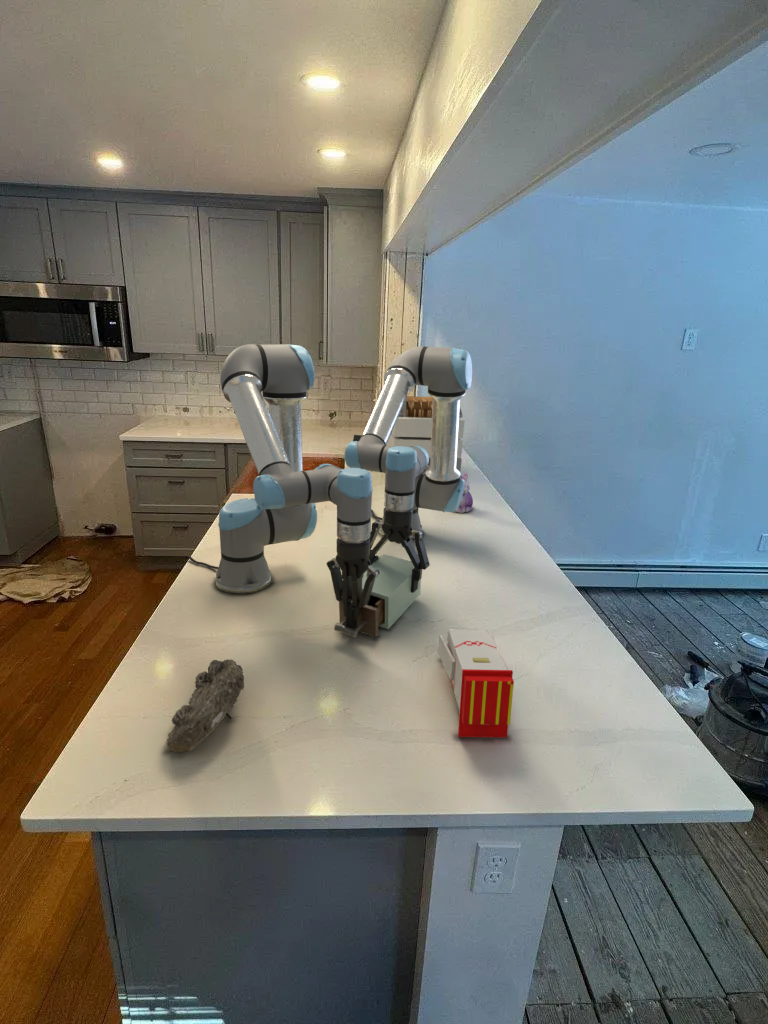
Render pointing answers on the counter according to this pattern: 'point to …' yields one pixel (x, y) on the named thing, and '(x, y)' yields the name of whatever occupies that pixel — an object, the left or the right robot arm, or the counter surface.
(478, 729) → the toy
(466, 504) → the figurine
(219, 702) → the fossil
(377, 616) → the drawer
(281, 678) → the counter surface
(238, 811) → the counter surface
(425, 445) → the white storage organizer
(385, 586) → the cabinet
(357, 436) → the figurine character
